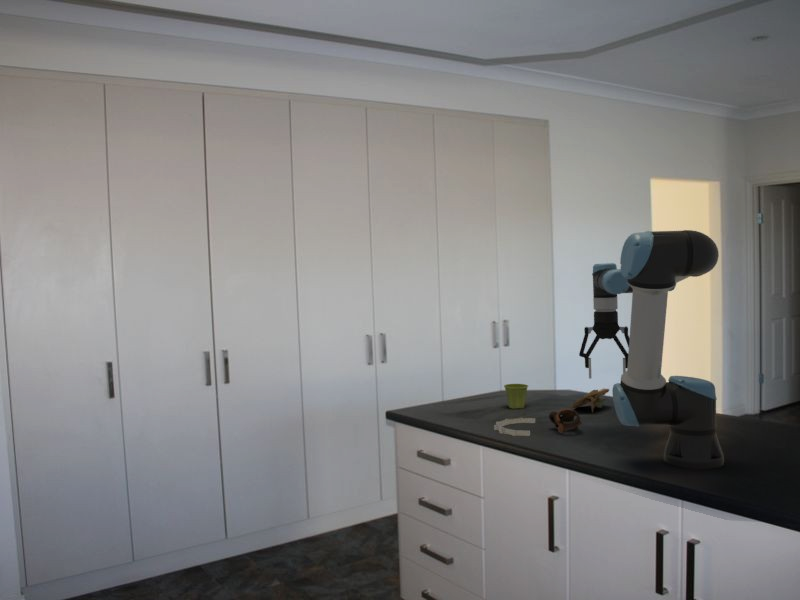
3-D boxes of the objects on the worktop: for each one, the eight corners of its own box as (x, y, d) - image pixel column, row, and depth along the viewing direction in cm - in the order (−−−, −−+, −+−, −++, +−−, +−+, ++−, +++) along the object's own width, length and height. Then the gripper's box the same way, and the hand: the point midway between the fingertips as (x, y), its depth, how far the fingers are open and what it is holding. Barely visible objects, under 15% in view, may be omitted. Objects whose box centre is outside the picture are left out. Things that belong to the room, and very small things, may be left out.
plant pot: (511, 404, 271) (510, 382, 270) (532, 406, 265) (532, 384, 265) (500, 408, 263) (499, 386, 263) (522, 410, 258) (521, 388, 257)
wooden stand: (584, 420, 262) (577, 401, 265) (619, 408, 256) (611, 389, 259) (570, 419, 247) (562, 399, 250) (607, 405, 241) (599, 385, 244)
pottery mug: (587, 430, 225) (586, 411, 221) (574, 447, 219) (572, 429, 215) (555, 418, 232) (553, 400, 228) (541, 435, 227) (539, 416, 223)
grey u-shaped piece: (529, 436, 219) (529, 432, 219) (490, 435, 223) (490, 430, 223) (535, 421, 239) (535, 417, 239) (499, 420, 243) (499, 416, 242)
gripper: (641, 309, 220) (643, 376, 221) (570, 310, 227) (572, 375, 228) (643, 310, 213) (644, 380, 214) (569, 311, 220) (571, 379, 221)
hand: (607, 378), depth 221 cm, fingers open, 10 cm apart
